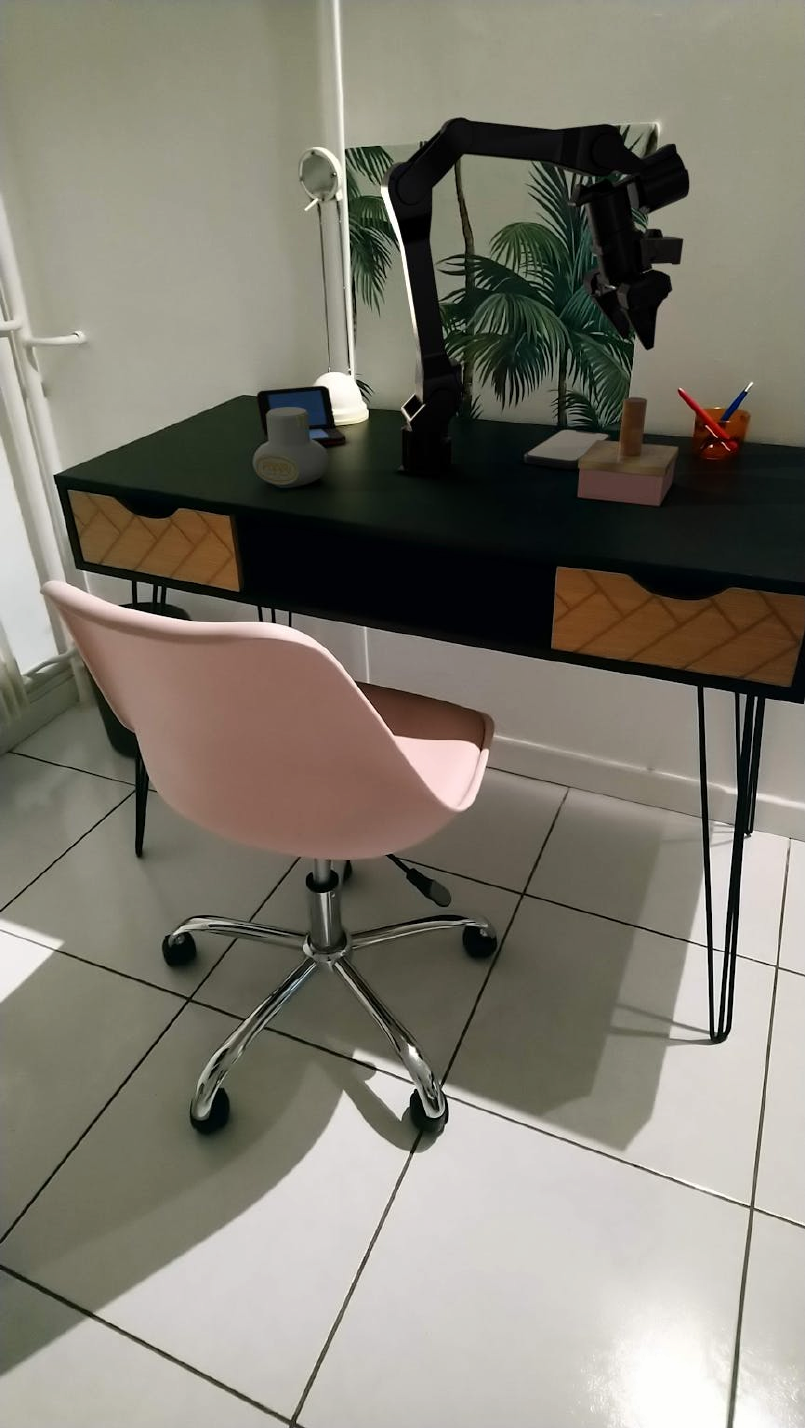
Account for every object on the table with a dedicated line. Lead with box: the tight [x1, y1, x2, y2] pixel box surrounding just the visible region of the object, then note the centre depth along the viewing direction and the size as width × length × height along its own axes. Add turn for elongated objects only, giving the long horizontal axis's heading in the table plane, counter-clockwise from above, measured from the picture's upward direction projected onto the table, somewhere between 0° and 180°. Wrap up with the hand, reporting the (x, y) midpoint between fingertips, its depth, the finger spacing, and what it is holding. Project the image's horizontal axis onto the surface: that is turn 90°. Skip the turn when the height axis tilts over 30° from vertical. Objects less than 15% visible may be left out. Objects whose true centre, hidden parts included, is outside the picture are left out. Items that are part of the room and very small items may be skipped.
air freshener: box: [252, 407, 330, 489], centre depth 128 cm, size 11×8×10 cm
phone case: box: [524, 429, 612, 471], centre depth 139 cm, size 9×2×16 cm
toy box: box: [577, 459, 676, 507], centre depth 122 cm, size 11×10×4 cm
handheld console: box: [256, 385, 346, 446], centre depth 148 cm, size 12×11×7 cm
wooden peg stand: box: [577, 396, 679, 477], centre depth 119 cm, size 11×10×8 cm
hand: (637, 343), depth 129 cm, fingers open, 9 cm apart
